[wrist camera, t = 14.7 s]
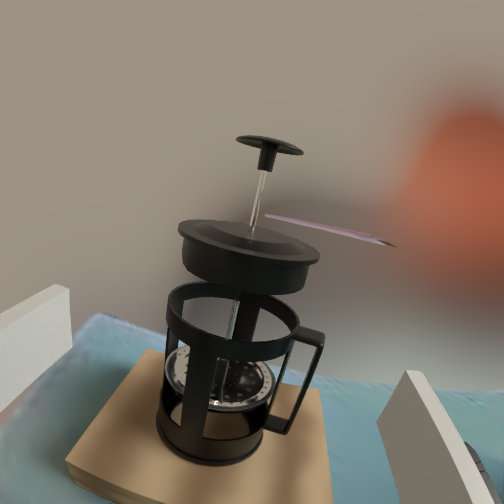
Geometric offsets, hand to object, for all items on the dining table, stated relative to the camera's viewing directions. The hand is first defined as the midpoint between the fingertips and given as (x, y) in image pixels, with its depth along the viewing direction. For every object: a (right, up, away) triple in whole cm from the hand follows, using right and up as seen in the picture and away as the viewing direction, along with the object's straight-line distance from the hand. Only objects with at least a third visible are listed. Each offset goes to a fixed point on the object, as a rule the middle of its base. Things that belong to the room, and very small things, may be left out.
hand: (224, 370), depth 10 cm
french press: (-2, -11, +13) cm, 17 cm away
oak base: (-3, -15, +14) cm, 21 cm away
